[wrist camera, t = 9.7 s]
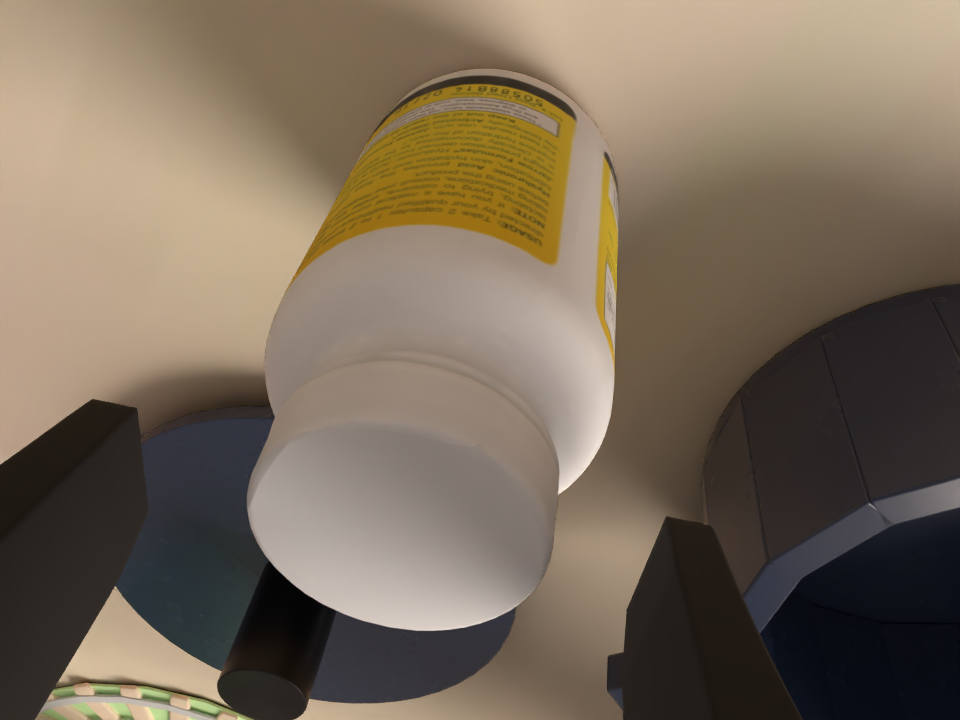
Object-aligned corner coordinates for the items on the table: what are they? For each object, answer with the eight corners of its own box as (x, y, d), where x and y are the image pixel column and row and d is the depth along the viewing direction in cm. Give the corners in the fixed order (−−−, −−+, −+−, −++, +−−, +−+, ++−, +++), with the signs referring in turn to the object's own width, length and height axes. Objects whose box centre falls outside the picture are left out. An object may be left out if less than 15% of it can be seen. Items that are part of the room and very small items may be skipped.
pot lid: (594, 627, 27) (588, 781, 24) (283, 703, 33) (236, 841, 29) (359, 323, 22) (301, 463, 18) (24, 475, 27) (-78, 609, 23)
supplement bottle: (315, 158, 19) (102, 482, 11) (516, 4, 17) (421, 282, 9) (470, 332, 21) (381, 700, 14) (669, 219, 19) (698, 591, 11)
